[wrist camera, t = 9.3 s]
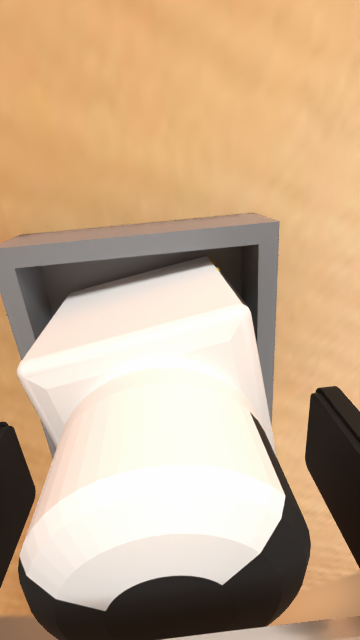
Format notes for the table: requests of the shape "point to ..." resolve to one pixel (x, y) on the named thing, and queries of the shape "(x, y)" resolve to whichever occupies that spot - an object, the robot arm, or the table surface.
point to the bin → (141, 270)
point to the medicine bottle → (157, 466)
